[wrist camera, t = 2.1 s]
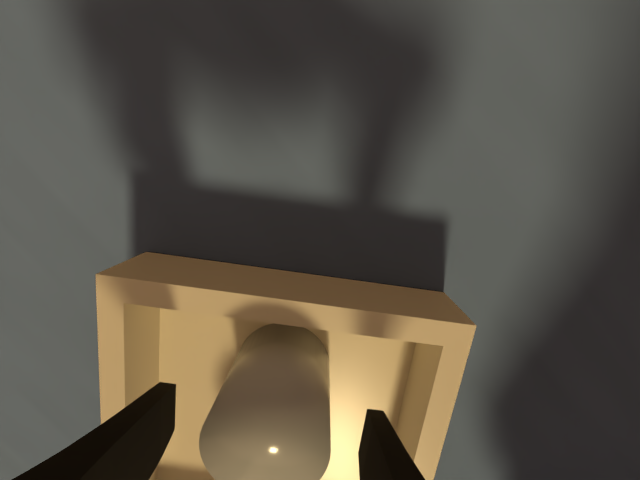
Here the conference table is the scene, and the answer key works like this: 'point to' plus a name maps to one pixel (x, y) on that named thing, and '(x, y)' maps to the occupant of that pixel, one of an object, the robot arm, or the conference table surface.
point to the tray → (287, 309)
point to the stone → (271, 410)
